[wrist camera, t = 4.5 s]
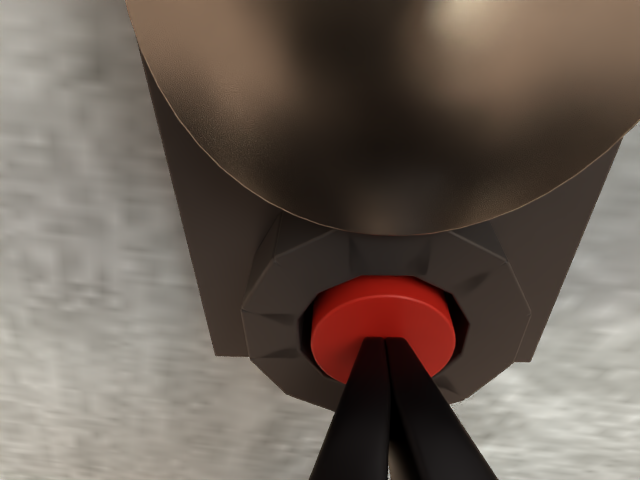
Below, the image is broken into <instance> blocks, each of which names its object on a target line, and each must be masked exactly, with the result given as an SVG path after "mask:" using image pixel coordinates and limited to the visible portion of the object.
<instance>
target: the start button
mask: <svg viewBox="0 0 640 480" xmlns="http://www.w3.org/2000/svg"><path fill="white" fill-rule="evenodd" d="M365 337H382V338H383V339H384V340H385V338H387V337H402V338H405V339H406V340H407V342H408V343H409V345H410V346H411V348H412V349H413V351H414V352H415V354H416V355H417V357H418V358H419V360H420V361H421V363H422V365H423V366H424V368H425V369H426V371H427V372H428V374H429V375H430V377H432V376H434V375H435V374H437V373H438V372H439V371H440V370H441V369H442V368H443V367H444V366H445V365H446V364H447V363H448V361H449V360H450V358H451V356H452V354H453V351H454V348H455V342H456V338H455V331H454V328H453V324H452V320H451V317H450V313H449V309H448V305H447V302H446V298H445V294H444V290H442V289H440V288H438V287H435V286H433V285H431V284H429V283H427V282H425V281H423V280H421V279H418V278H416V277H414V276H376V275H361V276H359V277H356V278H354V279H352V280H349V281H347V282H344V283H342V284H340V285H337V286H335V287H332V288H330V289H328V290H325V291H323V292H320V293H318V295H317V296H316V297H315V298H314V304H313V317H312V331H311V350H312V353H313V356H314V358H315V360H316V362H317V364H318V365H319V366H320V367H321V369H322V370H323V371H324V372H325V373H327V374H328V375H329V376H331V377H332V378H334V379H336V380H337V381H339V382H342V383H344V384H346V383H347V380H348V378H349V375H350V372H351V370H352V367H353V365H354V362H355V360H356V357H357V354H358V352H359V349H360V347H361V344H362V342H363V339H364V338H365Z"/></svg>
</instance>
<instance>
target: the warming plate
mask: <svg viewBox="0 0 640 480" xmlns="http://www.w3.org/2000/svg"><path fill="white" fill-rule="evenodd" d="M125 2H126V7H127V11H128V15H129V17H130V20H131V23H132V26H133V29H134V32H135V35H136V38H137V40H138V43H139V46H140V49H141V52H142V54H143V56H144V58H145V60H146V63H147V65H148V67H149V69H150V71H151V73H152V75H153V77H154V79H155V81H156V84H157V86H158V88H159V89H160V91H161V93H162V94H163V96H164V97H165V99H166V101H167V102H168V104H169V106H170V107H171V109H172V110H173V112H174V114H175V115H176V117H177V118H178V120H179V121H180V122H181V123H182V125H183V126H184V127H185V129H186V130H187V131H188V132H189V134H190V135H191V136H192V138H193V139H194V140H195V141H196V143H197V144H198V145H199V146H200V147H201V148H202V149H203V150H204V151H205V152H206V153H207V154H208V155H209V156H210V157H211V158H212V159H213V161H214V162H215V163H216V164H217V165H218V166H219V167H220V168H222V169H223V170H224V171H225V172H226V173H228V174H229V175H230V176H231V177H233V178H234V179H235V180H236V181H237V182H239V183H240V184H241V185H242V186H244V187H245V188H247V189H248V190H250V191H251V192H253V193H254V194H256V195H257V196H259V197H260V198H262V199H264V200H265V201H267V202H268V203H270V204H272V205H274V206H276V207H278V208H280V209H282V210H284V211H286V212H288V213H290V214H292V215H294V216H297V217H300V218H302V219H305V220H308V221H311V222H313V223H316V224H319V225H322V226H326V227H330V228H334V229H338V230H343V231H347V232H353V233H361V234H369V235H381V236H410V235H422V234H433V233H438V232H444V231H449V230H455V229H460V228H464V227H467V226H471V225H474V224H478V223H481V222H484V221H488V220H491V219H493V218H496V217H498V216H501V215H503V214H506V213H508V212H511V211H513V210H516V209H518V208H520V207H522V206H524V205H526V204H528V203H530V202H532V201H534V200H536V199H538V198H540V197H542V196H544V195H546V194H548V193H549V192H551V191H553V190H554V189H556V188H557V187H559V186H560V185H562V184H564V183H565V182H567V181H568V180H570V179H571V178H573V177H575V176H576V175H578V174H579V173H580V172H581V171H583V170H584V169H585V168H587V167H588V166H589V165H591V164H592V163H593V162H594V161H596V160H597V159H598V158H600V157H601V156H602V155H603V154H605V153H606V152H607V151H608V150H609V149H610V148H611V147H613V146H614V145H615V144H616V143H617V142H618V141H619V140H620V139H621V138H622V137H623V136H624V135H625V134H626V133H628V132H629V131H630V130H631V129H632V128H633V127H634V126H635V125H636V124H637V123H638V122H639V121H640V0H125Z"/></svg>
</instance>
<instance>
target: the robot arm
mask: <svg viewBox="0 0 640 480" xmlns="http://www.w3.org/2000/svg"><path fill="white" fill-rule="evenodd" d="M388 464H389V470H390V476H391V480H498V479H497V477H496V475H495V474H494V472H493V471H492V469H491V468H490V466H489V465H488V463H487V462H486V460H485V459H484V457H483V456H482V454H481V453H480V451H479V450H478V448H477V447H476V445H475V444H474V442H473V441H472V439H471V437H470V436H469V434H468V433H467V431H466V430H465V428H464V427H463V425H462V424H461V422H460V421H459V419H458V418H457V416H456V415H455V413H454V412H453V410H452V409H451V407H450V406H449V404H448V403H447V401H446V399H445V398H444V396H443V395H442V393H441V392H440V390H439V389H438V387H437V386H436V384H435V383H434V381H433V380H432V378H431V377H430V375H429V374H428V372H427V371H426V369H425V368H424V366H423V365H422V363H421V361H420V360H419V358H418V357H417V355H416V354H415V352H414V351H413V349H412V348H411V346H410V345H409V343H408V342H407V340H406V339H405V338H402V337H387V338H385V340H384V339H383V338H382V337H365V338H364V339H363V342H362V344H361V347H360V349H359V352H358V354H357V357H356V360H355V362H354V365H353V367H352V370H351V372H350V375H349V378H348V380H347V383H346V385H345V388H344V390H343V393H342V396H341V398H340V401H339V403H338V406H337V408H336V411H335V414H334V416H333V419H332V421H331V424H330V426H329V429H328V432H327V434H326V437H325V439H324V442H323V444H322V447H321V450H320V452H319V455H318V457H317V460H316V462H315V465H314V468H313V470H312V473H311V475H310V478H309V480H387V479H388Z"/></svg>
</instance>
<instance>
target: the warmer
mask: <svg viewBox="0 0 640 480" xmlns="http://www.w3.org/2000/svg"><path fill="white" fill-rule="evenodd" d="M136 39H137V38H136ZM137 43H138V40H137ZM138 47H139V51H140V55H141V59H142V63H143V67H144V71H145V75H146V79H147V83H148V87H149V91H150V95H151V99H152V103H153V107H154V111H155V115H156V119H157V123H158V127H159V131H160V135H161V139H162V143H163V147H164V151H165V155H166V159H167V163H168V167H169V171H170V175H171V180H172V184H173V188H174V192H175V196H176V200H177V204H178V208H179V212H180V216H181V220H182V224H183V228H184V232H185V236H186V240H187V244H188V248H189V252H190V256H191V260H192V264H193V268H194V272H195V276H196V280H197V284H198V288H199V292H200V296H201V300H202V304H203V308H204V312H205V316H206V320H207V324H208V328H209V332H210V336H211V340H212V344H213V348H214V352H215V355H216V356H231V357H250V360H251V361H252V362H253V363H254V364H255V365H256V366H257V367H258V368H259V369H260V370H261V371H262V372H263V373H264V374H265V375H266V376H268V377H269V378H270V379H271V380H272V381H273V382H274V383H275V384H276V385H277V386H278V387H279V388H280V389H281V390H282V391H283V392H284V393H285V394H287V395H290V396H292V397H295V398H297V399H300V400H303V401H306V402H309V403H312V404H314V405H317V406H320V407H323V408H326V409H328V410H331V411H334V412H335V411H336V408H337V406H338V403H339V401H340V398H341V396H342V393H343V390H344V388H345V385H346V384H344V383H342V382H339V381H337V380H336V379H334V378H332V377H331V376H329V375H328V374H327V373H325V372H324V371H323V370H322V369H321V367H320V366H319V365H318V364H317V362H316V360H315V358H314V356H313V353H312V350H311V331H312V317H313V304H314V298H315V297H316V296H317V295H318V293H320V292H323V291H325V290H328V289H330V288H332V287H335V286H337V285H340V284H342V283H344V282H347V281H349V280H352V279H354V278H356V277H359V276H361V275H376V276H414V277H416V278H418V279H421V280H423V281H425V282H427V283H429V284H431V285H433V286H435V287H438V288H440V289H442V290H444V294H445V298H446V302H447V305H448V309H449V313H450V317H451V320H452V324H453V328H454V331H455V338H456V342H455V348H454V351H453V354H452V356H451V358H450V360H449V361H448V363H447V364H446V365H445V366H444V367H443V368H442V369H441V370H440V371H439V372H438V373H437V374H435V375H434V376H432V377H431V378H432V380H433V381H434V383H435V384H436V386H437V387H438V389H439V390H440V392H441V393H442V395H443V396H444V398H445V399H446V401H447V403H448V404H452V403H456V402H459V401H463V400H465V398H468V397H470V396H471V395H472V394H474V393H475V392H476V391H477V390H479V389H480V388H481V387H483V386H484V385H485V384H487V383H488V382H489V381H491V380H492V379H493V378H495V377H496V376H497V375H499V374H500V373H501V372H503V371H504V370H505V369H507V368H508V367H509V366H510V365H511V364H513V363H514V362H530V361H531V359H532V357H533V355H534V352H535V350H536V347H537V345H538V342H539V340H540V338H541V335H542V333H543V330H544V328H545V326H546V323H547V321H548V318H549V316H550V313H551V311H552V309H553V306H554V304H555V301H556V299H557V296H558V294H559V292H560V289H561V287H562V284H563V282H564V279H565V277H566V275H567V272H568V270H569V267H570V265H571V262H572V260H573V258H574V255H575V253H576V250H577V248H578V246H579V243H580V241H581V238H582V236H583V233H584V231H585V229H586V226H587V224H588V221H589V219H590V216H591V214H592V212H593V209H594V207H595V204H596V202H597V199H598V197H599V195H600V192H601V190H602V187H603V185H604V182H605V180H606V178H607V175H608V173H609V170H610V168H611V166H612V163H613V161H614V158H615V156H616V153H617V151H618V149H619V146H620V144H621V141H622V139H623V137H622V138H621V139H620V140H619V141H618V142H617V143H616V144H615V145H614V146H613V147H611V148H610V149H609V150H608V151H607V152H606V153H605V154H603V155H602V156H601V157H600V158H598V159H597V160H596V161H594V162H593V163H592V164H591V165H589V166H588V167H587V168H585V169H584V170H583V171H581V172H580V173H579V174H578V175H576V176H575V177H573V178H571V179H570V180H568V181H567V182H565V183H564V184H562V185H560V186H559V187H557V188H556V189H554V190H553V191H551V192H549V193H548V194H546V195H544V196H542V197H540V198H538V199H536V200H534V201H532V202H530V203H528V204H526V205H524V206H522V207H520V208H518V209H516V210H513V211H511V212H508V213H506V214H503V215H501V216H498V217H496V218H493V219H491V220H488V221H484V222H481V223H478V224H474V225H471V226H467V227H464V228H460V229H455V230H449V231H444V232H438V233H433V234H422V235H410V236H381V235H369V234H361V233H353V232H347V231H343V230H338V229H334V228H330V227H326V226H322V225H319V224H316V223H313V222H311V221H308V220H305V219H302V218H300V217H297V216H294V215H292V214H290V213H288V212H286V211H284V210H282V209H280V208H278V207H276V206H274V205H272V204H270V203H268V202H267V201H265V200H264V199H262V198H260V197H259V196H257V195H256V194H254V193H253V192H251V191H250V190H248V189H247V188H245V187H244V186H242V185H241V184H240V183H239V182H237V181H236V180H235V179H234V178H233V177H231V176H230V175H229V174H228V173H226V172H225V171H224V170H223V169H222V168H220V167H219V166H218V165H217V164H216V163H215V162H214V161H213V159H212V158H211V157H210V156H209V155H208V154H207V153H206V152H205V151H204V150H203V149H202V148H201V147H200V146H199V145H198V144H197V143H196V141H195V140H194V139H193V138H192V136H191V135H190V134H189V132H188V131H187V130H186V129H185V127H184V126H183V125H182V123H181V122H180V121H179V120H178V118H177V117H176V115H175V114H174V112H173V110H172V109H171V107H170V106H169V104H168V102H167V101H166V99H165V97H164V96H163V94H162V93H161V91H160V89H159V88H158V86H157V84H156V81H155V79H154V77H153V75H152V73H151V71H150V69H149V67H148V65H147V63H146V60H145V58H144V56H143V54H142V52H141V49H140V46H139V43H138Z"/></svg>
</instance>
